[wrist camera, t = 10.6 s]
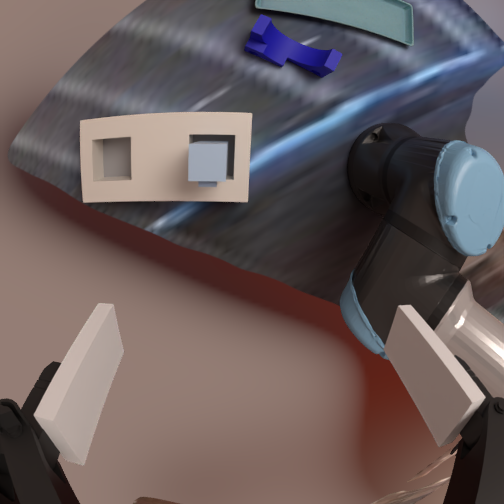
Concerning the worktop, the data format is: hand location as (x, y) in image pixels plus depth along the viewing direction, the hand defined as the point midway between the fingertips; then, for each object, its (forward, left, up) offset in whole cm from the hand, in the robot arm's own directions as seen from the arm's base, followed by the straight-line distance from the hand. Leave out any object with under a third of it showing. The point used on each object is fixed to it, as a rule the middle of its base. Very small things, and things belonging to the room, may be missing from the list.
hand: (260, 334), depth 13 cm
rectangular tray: (-14, -32, -35) cm, 50 cm away
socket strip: (+11, -5, -35) cm, 37 cm away
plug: (+4, -5, -34) cm, 34 cm away
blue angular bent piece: (-6, -21, -35) cm, 41 cm away
